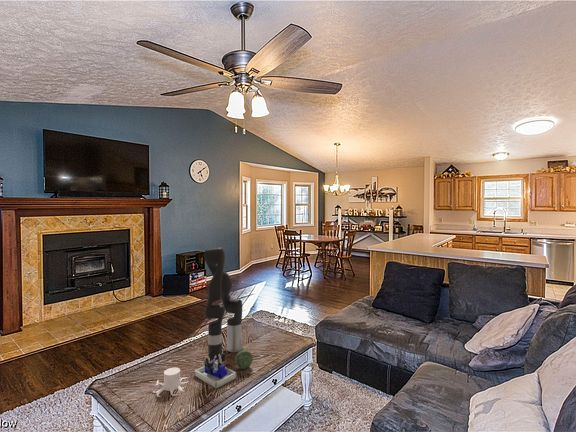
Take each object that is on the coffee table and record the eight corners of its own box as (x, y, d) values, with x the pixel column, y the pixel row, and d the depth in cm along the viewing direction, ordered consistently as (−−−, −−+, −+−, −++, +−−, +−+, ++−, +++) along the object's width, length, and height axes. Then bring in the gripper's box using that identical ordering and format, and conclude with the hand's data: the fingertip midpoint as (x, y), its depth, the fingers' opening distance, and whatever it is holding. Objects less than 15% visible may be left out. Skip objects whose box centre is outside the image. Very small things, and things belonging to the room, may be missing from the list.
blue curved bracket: (226, 374, 172) (226, 363, 172) (221, 378, 168) (221, 367, 168) (210, 369, 178) (210, 358, 178) (204, 372, 174) (204, 362, 174)
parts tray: (215, 366, 185) (215, 361, 185) (236, 378, 172) (236, 372, 172) (194, 375, 175) (194, 370, 175) (215, 388, 162) (215, 383, 162)
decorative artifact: (251, 365, 187) (251, 348, 186) (254, 370, 180) (254, 353, 180) (234, 368, 183) (234, 351, 183) (237, 374, 176) (237, 356, 176)
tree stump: (197, 377, 174) (196, 362, 174) (182, 398, 155) (182, 381, 154) (162, 375, 176) (161, 361, 175) (143, 396, 156) (143, 380, 156)
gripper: (221, 335, 181) (221, 365, 181) (199, 343, 170) (200, 375, 170) (229, 339, 176) (230, 369, 176) (208, 347, 165) (208, 379, 166)
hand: (215, 372), depth 173 cm, fingers closed on blue curved bracket, 5 cm apart
